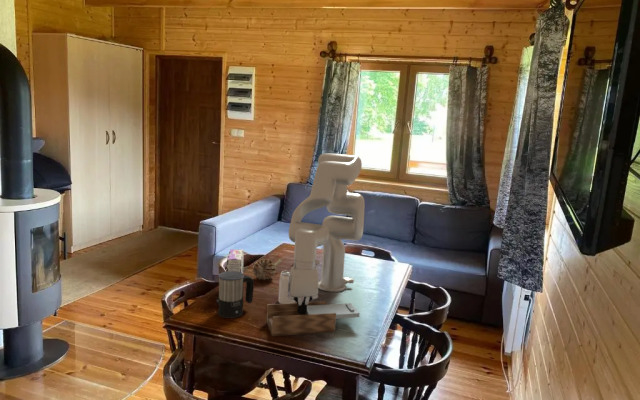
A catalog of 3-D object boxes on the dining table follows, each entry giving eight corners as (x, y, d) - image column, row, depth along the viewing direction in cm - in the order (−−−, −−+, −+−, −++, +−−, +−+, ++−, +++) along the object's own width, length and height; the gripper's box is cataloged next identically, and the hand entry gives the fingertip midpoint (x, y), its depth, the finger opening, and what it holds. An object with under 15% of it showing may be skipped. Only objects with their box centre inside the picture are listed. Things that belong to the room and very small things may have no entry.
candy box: (228, 286, 207) (229, 248, 204) (242, 286, 208) (244, 249, 205) (225, 298, 194) (226, 258, 191) (240, 298, 194) (241, 259, 191)
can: (297, 300, 196) (298, 272, 194) (290, 306, 190) (292, 276, 188) (282, 297, 198) (283, 269, 196) (275, 303, 192) (277, 274, 190)
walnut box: (325, 318, 180) (326, 301, 179) (334, 331, 170) (336, 313, 169) (266, 322, 174) (267, 304, 173) (272, 336, 164) (273, 317, 163)
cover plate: (350, 307, 181) (350, 301, 181) (359, 317, 172) (359, 311, 172) (303, 309, 176) (303, 304, 176) (309, 320, 167) (310, 314, 167)
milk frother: (230, 321, 174) (232, 281, 171) (199, 309, 182) (199, 271, 179) (256, 308, 186) (258, 271, 183) (225, 298, 194) (226, 262, 191)
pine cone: (267, 286, 210) (268, 264, 208) (247, 282, 213) (248, 260, 211) (287, 271, 230) (288, 251, 229) (269, 268, 233) (270, 248, 232)
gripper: (322, 260, 174) (319, 309, 177) (281, 261, 170) (278, 311, 173) (328, 266, 167) (325, 317, 170) (285, 268, 162) (282, 320, 166)
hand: (301, 314), depth 171 cm, fingers closed
